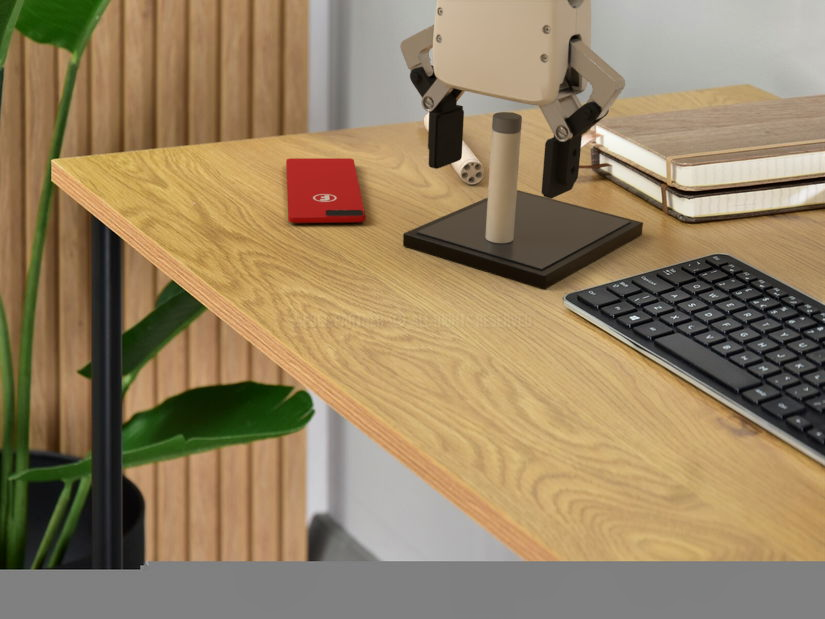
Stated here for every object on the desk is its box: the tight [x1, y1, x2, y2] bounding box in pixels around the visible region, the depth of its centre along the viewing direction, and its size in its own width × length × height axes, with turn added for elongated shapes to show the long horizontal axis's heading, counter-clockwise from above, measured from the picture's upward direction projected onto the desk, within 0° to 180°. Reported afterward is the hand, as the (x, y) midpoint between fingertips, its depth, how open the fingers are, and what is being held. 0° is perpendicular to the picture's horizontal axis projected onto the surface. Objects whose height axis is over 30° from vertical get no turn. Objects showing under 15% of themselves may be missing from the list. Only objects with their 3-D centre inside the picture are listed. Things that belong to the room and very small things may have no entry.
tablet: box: [402, 189, 644, 290], centre depth 89 cm, size 14×12×1 cm
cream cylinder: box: [423, 112, 485, 185], centre depth 108 cm, size 18×2×2 cm, turn 11°
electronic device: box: [285, 157, 366, 224], centre depth 97 cm, size 6×1×15 cm
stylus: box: [485, 111, 523, 243], centre depth 84 cm, size 2×2×9 cm
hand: (499, 177), depth 84 cm, fingers open, 9 cm apart
